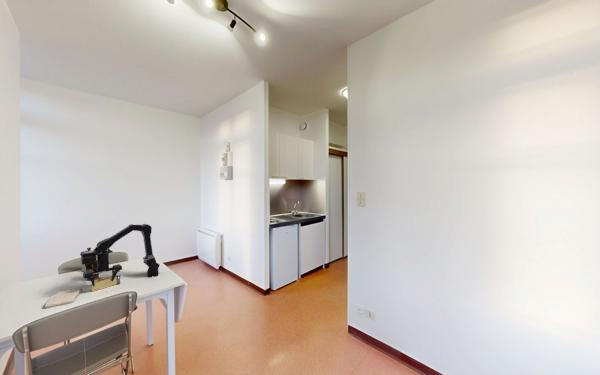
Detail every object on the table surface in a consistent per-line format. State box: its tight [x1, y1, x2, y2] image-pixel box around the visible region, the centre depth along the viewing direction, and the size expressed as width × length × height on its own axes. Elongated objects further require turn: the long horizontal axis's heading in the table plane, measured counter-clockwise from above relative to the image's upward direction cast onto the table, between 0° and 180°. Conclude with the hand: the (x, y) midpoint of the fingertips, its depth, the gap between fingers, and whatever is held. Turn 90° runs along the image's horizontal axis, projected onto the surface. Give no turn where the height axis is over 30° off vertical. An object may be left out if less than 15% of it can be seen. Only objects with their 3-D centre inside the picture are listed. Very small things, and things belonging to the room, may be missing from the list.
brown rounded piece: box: [85, 259, 100, 281], centre depth 160 cm, size 9×8×13 cm
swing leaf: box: [91, 274, 121, 292], centre depth 148 cm, size 15×3×6 cm, turn 144°
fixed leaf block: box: [94, 274, 118, 283], centre depth 152 cm, size 12×4×5 cm, turn 118°
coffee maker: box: [80, 247, 93, 273], centre depth 176 cm, size 15×9×18 cm, turn 77°
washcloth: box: [44, 287, 83, 309], centre depth 133 cm, size 12×18×3 cm, turn 33°
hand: (103, 283), depth 145 cm, fingers open, 9 cm apart
